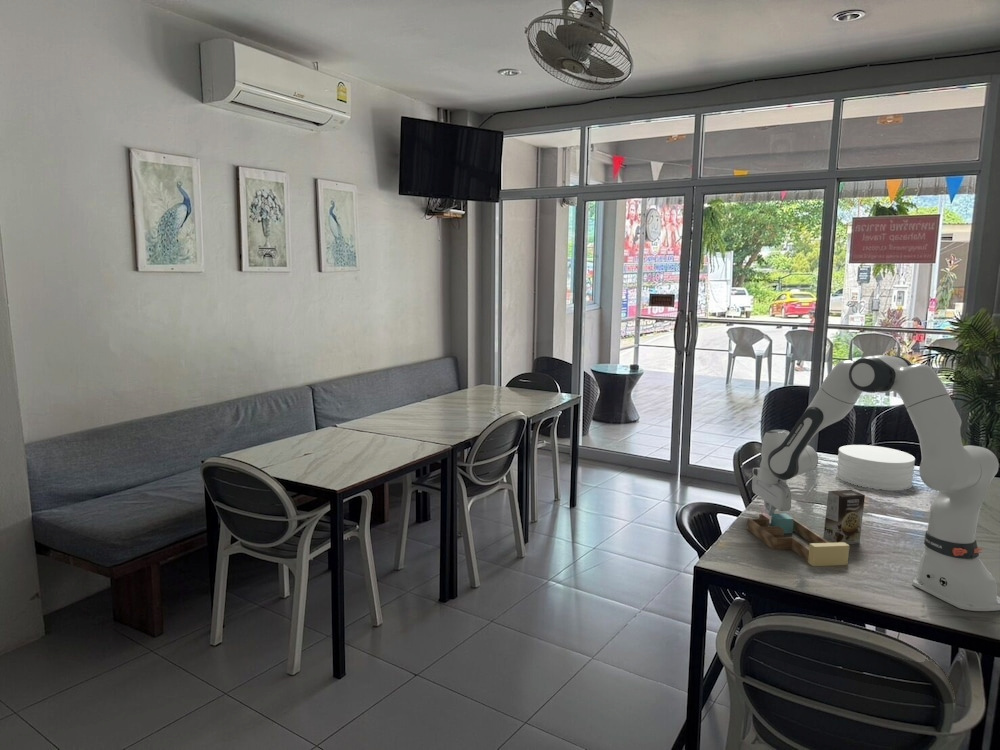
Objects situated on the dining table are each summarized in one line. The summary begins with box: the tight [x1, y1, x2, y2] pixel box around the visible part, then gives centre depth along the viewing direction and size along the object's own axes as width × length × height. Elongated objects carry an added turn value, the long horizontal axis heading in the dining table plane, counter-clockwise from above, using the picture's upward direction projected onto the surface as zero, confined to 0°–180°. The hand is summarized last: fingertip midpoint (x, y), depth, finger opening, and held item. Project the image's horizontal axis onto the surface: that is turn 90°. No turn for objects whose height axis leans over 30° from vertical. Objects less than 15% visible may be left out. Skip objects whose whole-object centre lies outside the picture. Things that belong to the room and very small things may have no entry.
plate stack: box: [835, 444, 916, 491], centre depth 290 cm, size 28×28×12 cm
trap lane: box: [746, 513, 831, 562], centre depth 222 cm, size 31×16×4 cm, turn 7°
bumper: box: [807, 542, 850, 567], centre depth 206 cm, size 2×11×6 cm, turn 97°
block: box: [770, 513, 795, 534], centre depth 231 cm, size 5×5×5 cm
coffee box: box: [822, 489, 866, 545], centre depth 223 cm, size 9×6×16 cm
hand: (769, 514), depth 239 cm, fingers closed
